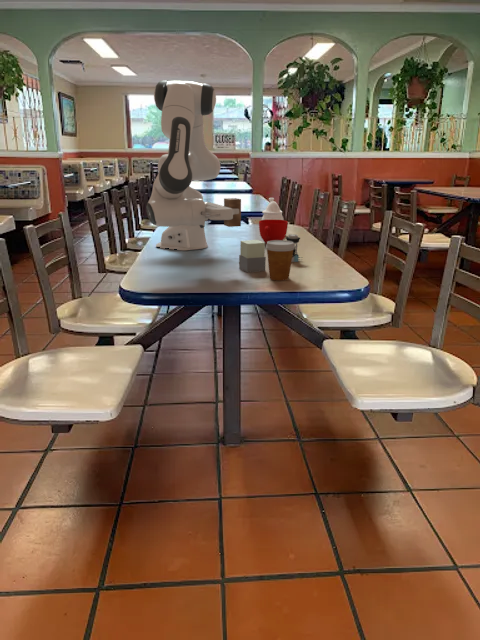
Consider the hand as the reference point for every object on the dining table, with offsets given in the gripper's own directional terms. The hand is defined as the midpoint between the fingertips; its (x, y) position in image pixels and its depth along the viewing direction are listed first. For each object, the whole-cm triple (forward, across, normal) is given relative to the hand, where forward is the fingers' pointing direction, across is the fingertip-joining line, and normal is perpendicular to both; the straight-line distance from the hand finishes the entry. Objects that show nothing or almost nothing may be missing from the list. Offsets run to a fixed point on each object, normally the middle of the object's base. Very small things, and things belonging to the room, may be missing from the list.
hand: (234, 210), depth 170 cm
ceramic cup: (+35, +40, +21) cm, 57 cm away
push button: (+26, +4, +21) cm, 34 cm away
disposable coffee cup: (+9, -18, +21) cm, 29 cm away
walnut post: (-1, 0, +5) cm, 5 cm away
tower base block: (+6, -2, +21) cm, 22 cm away
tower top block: (+6, -2, +16) cm, 17 cm away
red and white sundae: (+47, +62, +21) cm, 81 cm away
